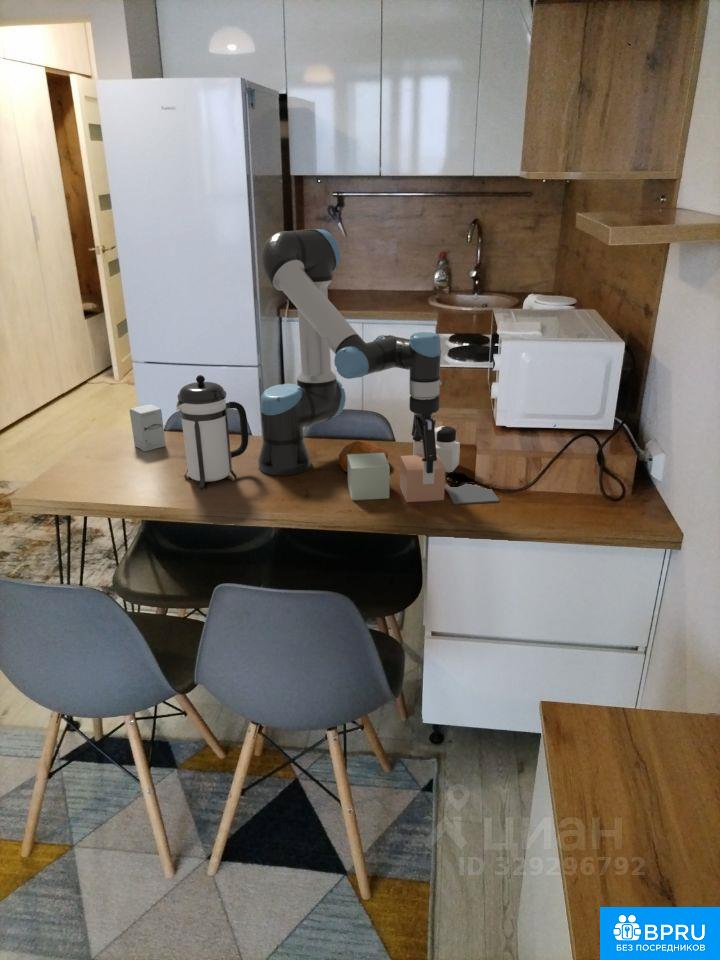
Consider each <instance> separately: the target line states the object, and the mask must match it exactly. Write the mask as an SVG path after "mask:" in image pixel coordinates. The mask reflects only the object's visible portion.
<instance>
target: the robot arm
mask: <svg viewBox="0 0 720 960" xmlns="http://www.w3.org/2000/svg"><path fill="white" fill-rule="evenodd" d="M338 243H339V242H338V241H337V239H336V238H335V237H334V236H333V234H332V233H330V232H329V231H328V230H326V229H322V228H321V229H319V228H318V229H317V228H309V229H307V228H306V229H300V230H299V229H298V230H297V229H296V230H288V231H287V230H283V231H278V232H276V233H274V234H272V235H271V236H269V237H268V239H267V240H266V241H265V243H264V244H263V247H262V250H261V257H260V258H261V259H260V261H261V266H262V270H263V273H264V275H265V277H266V278H267V280H268V281H269V283H270V284H271V285H272V286H273V288H274V289H276V290H277V291H279V292H280V291H282V292H283V294H284V295H285V296H286V297H287V298H288V299H289V300H290V302H291V303H292V304H293V305H294V306H295V307H296V309H297V313H298V314H297V316H298V329H299V330H298V331H299V332H298V334H299V348H300V349H299V350H300V363H301V365H300V368H301V372H300V373H299V374H298V375H297V377H296V384H295V383H283V384H275V385H273V386H270V387H268V388H266V389H265V390H264V391H263V392H262V393H261V396H260V406H259V407H260V408H259V410H260V414H261V415H260V416H261V427H262V428H261V429H262V446H261V449H260V453H259V455H258V456H259V457H258V469H259V470H260V471H261V472H262V473H264V474H267V475H272V476H281V477H283V476H294V475H297V474H301V473H304V472H305V471H307V470H309V469H310V467H311V456H310V453H309V451H308V448H307V446H306V443H305V440H304V428H306V427H309V426H312V425H315V424H318V423H322V422H326V421H330V420H331V419H334V418H336V417H337V416H339V415H340V414H341V413H342V412H343V410H344V407H345V406H346V405H345V404H346V399H347V397H346V391H345V388H344V387H343V384H342V383H341V382H340V381H339V380H338V379H337V375H336V374H335V373H334V372H333V371H332V365H331V361H332V360H331V359H332V358H331V351H332V352H333V353H334V354H335V355H334V366H335V367H336V372H337V373H338V375H340V377H342V378H344V379H346V380H347V379H357V378H363V377H364V376H367V375H370V374H374V373H378V372H382V371H385V370H389V369H393V368H398V369H403V370H409V380H408V381H409V395H410V396H409V410H410V412H411V413H413V422H412V430H411V436H412V440H413V441H412V445H413V447H412V450H413V451H412V455H424V458H422V461H423V484H434V464H435V461H437V455H436V442H435V429H436V427H435V425H436V423H435V420H434V419H433V418H432V414H435V413H438V412H439V410H440V397H439V395H440V386H442V381H441V379H440V378H441V375H440V373H441V371H440V370H441V356H442V349H441V337H440V335H438V334H437V333H434V332H428V331H427V332H426V331H420V332H414V333H412V334H411V335H410V337H409V338H404V337H399V336H395V335H391V334H389V335H386V334H385V335H384V334H380V335H378V336H377V337H376V338H375V339H374V340H373V341H369V342H365V340H363V338H362V336H361V335H359V334H358V332H357V331H356V330H355V329H354V327H353V326H351V324H350V323H349V321H347V319H346V318H345V317H344V316H343V315H342V313H340V312H339V310H338V309H337V307H336V306H335V305H334V304H333V303H332V302H331V300H329V297H328V295H329V294H328V286H330V284H331V282H332V281H333V272H335V271H336V270H337V269H338V266H339V265H340V264H341V263H340V262H341V251H340V246H339V244H338ZM431 455H432V456H431Z"/></svg>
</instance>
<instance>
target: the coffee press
mask: <svg viewBox="0 0 720 960" xmlns="http://www.w3.org/2000/svg"><path fill="white" fill-rule="evenodd" d="M195 378H196V379H195V380H196V382H192V383H188V384H186V385H184V386H183V387H181V388H180V389H179V392H178V394H177V396H176V397H177V401H176V405H175V407H174V408H175V410H176V411H179V416H180V418H181V425H182V426H181V427H182V433H183V441H184V448H185V449H184V451H185V458H186V459H185V460H186V466H187V469H186V472H185V474H184V476H183V477H184V479H185V480H189V479H192V480H195V481H197V482H199V486H198V487H199V490H206V488H207V484H208V482H209V483H211V482H216V481H220V480H223V479H225V478H228V479H229V480H230V481H231V482H235V481H236V479H237V478H238V476H237V475H236V473H235V472H234V471H233V466H232V465H233V464H232V462H233V461H232V459H234V458H236V457H238V456H241V455H242V454H244V453H245V451H246V450H247V449H248V444H249V430H248V418H247V412H246V410H245V407H244V406H243V405H242V404H241V403H239V402H238V401H237V402H236V401H229V402H226V398H227V392H226V390H225V389H224V387H223V386H222V385H221V384H219V383H216V382H213V381H212V382H211V381H206V377H205V376H204V375H202V374H201V375H200V374H199V375H197V377H195ZM228 409H236V411H237V412H238V414H239V426H240V439H241V442H240V445H239V447H238V448H237V449H234V450H232V451H231V443H230V432H229V430H230V429H229V423H228V422H229V421H228ZM187 474H188V475H187ZM230 474H231V475H232V476H233V477H234V478H233V477H232V476H231V475H230Z"/></svg>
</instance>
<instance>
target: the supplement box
mask: <svg viewBox="0 0 720 960" xmlns="http://www.w3.org/2000/svg"><path fill="white" fill-rule="evenodd" d="M162 411H163V410H162V408H160V407H158V406H156V405H153V404H151V403H150V404H146V405H141V406H135V407H133V408H129V416H130V423H131V424H130V425H131V430H132V437H133V443H134V447H135V448H137V447H138V448H137V449H139V448H140V449H139V450H141V449H142V450H141V451H143V452H144V451H145V453H146V452H149V451H151V450H155V449H161V448H165V447H166V443H167V442H166V437H165V429H164V420H163V413H162Z"/></svg>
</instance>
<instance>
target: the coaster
mask: <svg viewBox="0 0 720 960" xmlns="http://www.w3.org/2000/svg"><path fill="white" fill-rule="evenodd" d="M465 483H466V484H464V485H462V486H459V487H450V486H448V485H447V484H448V483H445V488H444V490H445V491H446V493H447V494H448V496H449V498H450V499H451V501H452V503H453V505H467V504H468V505H469V504H485V503H499V502H500V499H499V498H498V496H497V495H496V494H495V492H494V491H493V489H492V488H491V489H487V488H482V487H477V486H474V485H472V484H467V483H468V482H465Z"/></svg>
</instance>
